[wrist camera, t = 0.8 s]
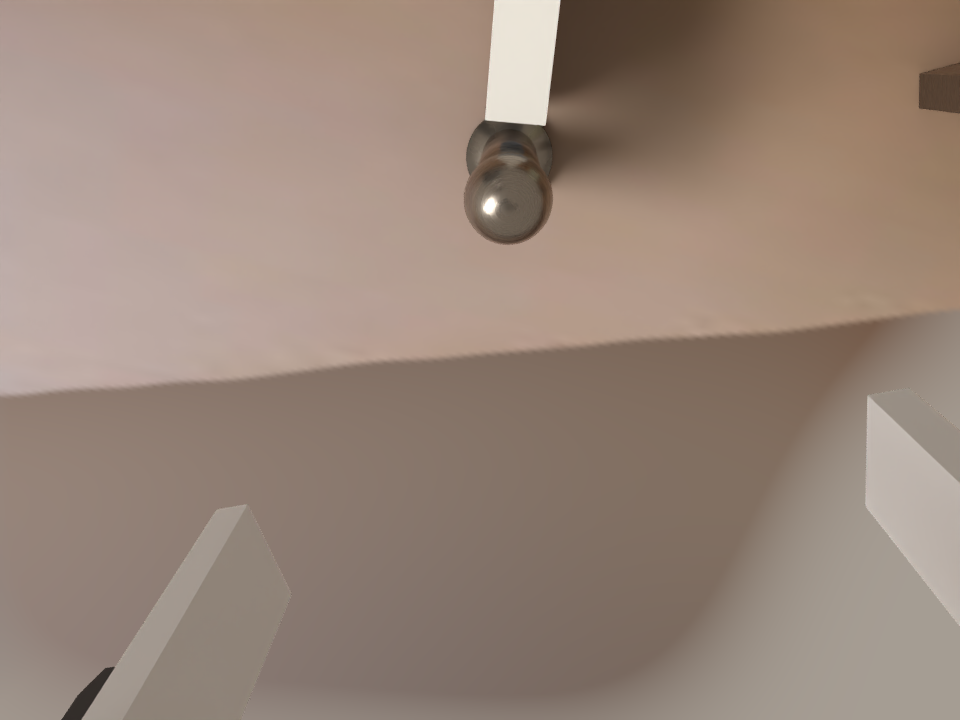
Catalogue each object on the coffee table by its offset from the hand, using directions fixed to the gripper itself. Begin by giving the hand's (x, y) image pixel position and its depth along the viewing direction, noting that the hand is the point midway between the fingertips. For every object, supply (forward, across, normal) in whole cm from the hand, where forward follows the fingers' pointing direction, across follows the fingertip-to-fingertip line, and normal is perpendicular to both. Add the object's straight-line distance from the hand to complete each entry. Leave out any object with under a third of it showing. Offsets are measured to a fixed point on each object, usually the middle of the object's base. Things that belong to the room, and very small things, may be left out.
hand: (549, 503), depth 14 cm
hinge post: (+24, 0, +4) cm, 24 cm away
